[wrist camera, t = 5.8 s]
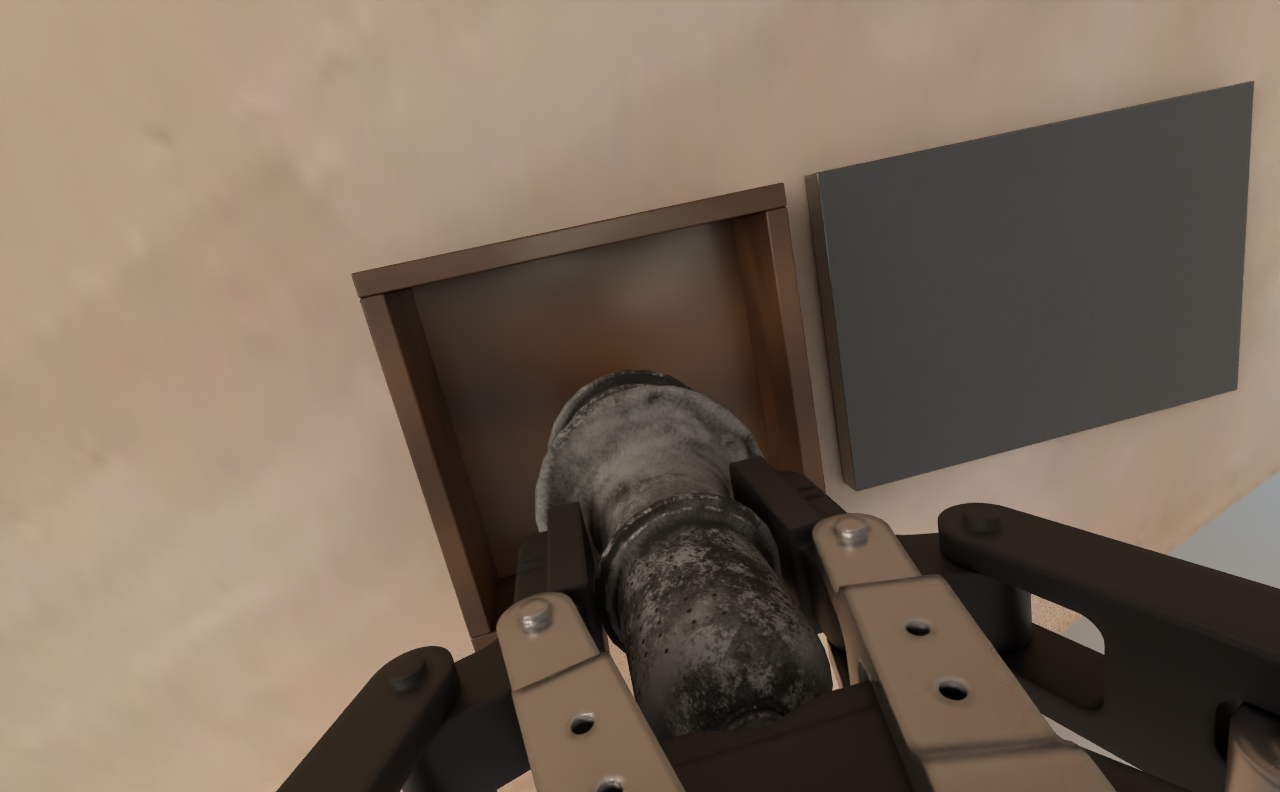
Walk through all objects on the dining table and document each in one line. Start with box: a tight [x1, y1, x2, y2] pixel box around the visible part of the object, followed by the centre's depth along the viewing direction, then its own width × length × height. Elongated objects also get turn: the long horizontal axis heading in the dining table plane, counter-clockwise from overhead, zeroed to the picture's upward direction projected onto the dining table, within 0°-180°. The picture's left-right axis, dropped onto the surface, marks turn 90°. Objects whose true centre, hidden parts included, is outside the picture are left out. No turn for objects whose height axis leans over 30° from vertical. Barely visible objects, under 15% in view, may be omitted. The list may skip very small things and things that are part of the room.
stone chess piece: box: [535, 370, 833, 742], centre depth 12 cm, size 6×6×12 cm
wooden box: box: [352, 183, 826, 652], centre depth 24 cm, size 15×15×4 cm
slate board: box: [805, 81, 1254, 491], centre depth 27 cm, size 14×20×1 cm
